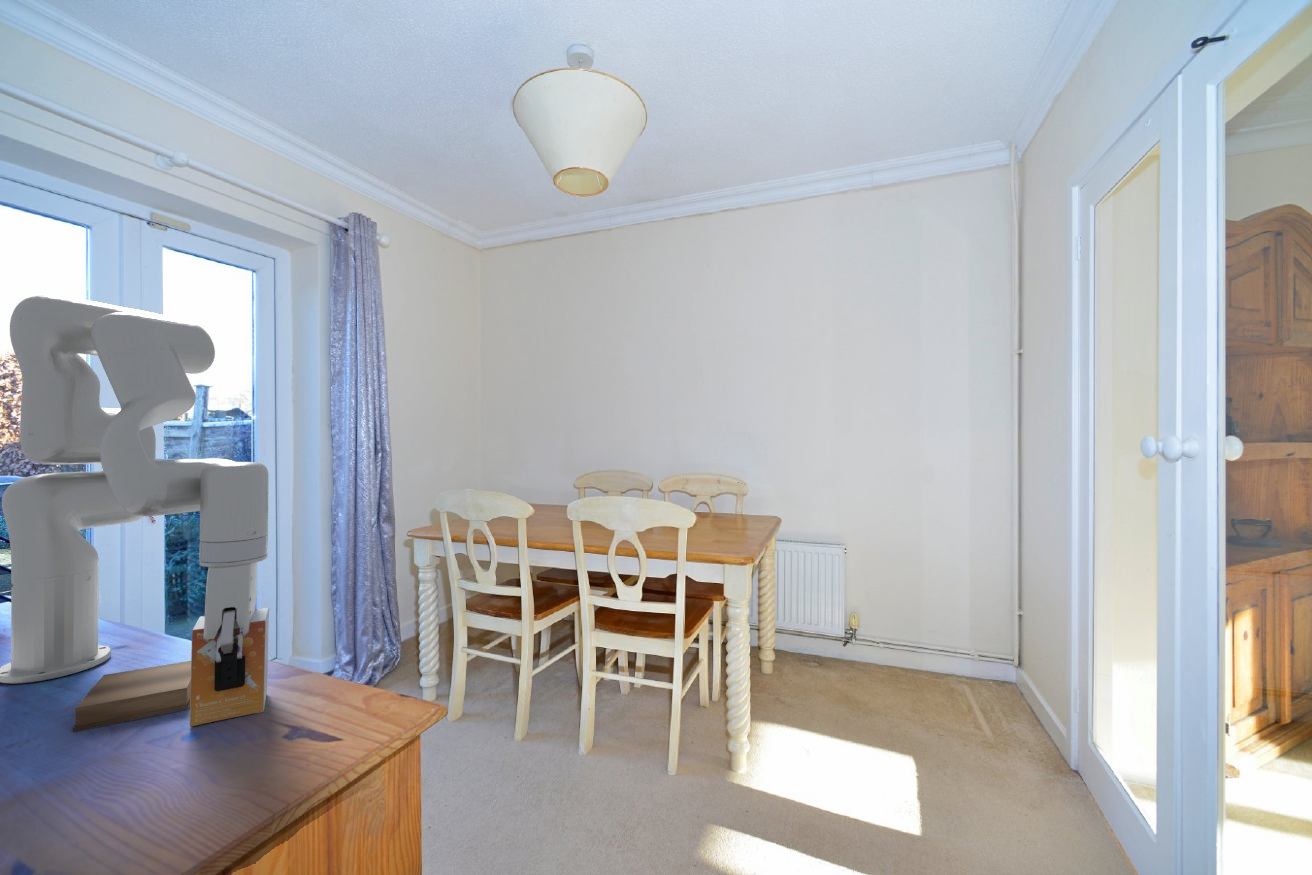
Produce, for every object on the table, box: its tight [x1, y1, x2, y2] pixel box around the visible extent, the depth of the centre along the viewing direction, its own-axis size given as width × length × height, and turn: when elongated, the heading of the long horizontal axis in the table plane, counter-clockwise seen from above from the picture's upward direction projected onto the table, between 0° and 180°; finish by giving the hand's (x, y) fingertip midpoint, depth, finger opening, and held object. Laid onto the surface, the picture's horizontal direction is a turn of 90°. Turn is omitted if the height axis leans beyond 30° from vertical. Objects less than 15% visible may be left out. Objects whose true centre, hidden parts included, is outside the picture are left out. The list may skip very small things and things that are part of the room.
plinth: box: [72, 660, 191, 733], centre depth 77 cm, size 11×11×3 cm
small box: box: [189, 607, 270, 727], centre depth 76 cm, size 8×6×13 cm
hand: (233, 676), depth 76 cm, fingers closed on small box, 6 cm apart
